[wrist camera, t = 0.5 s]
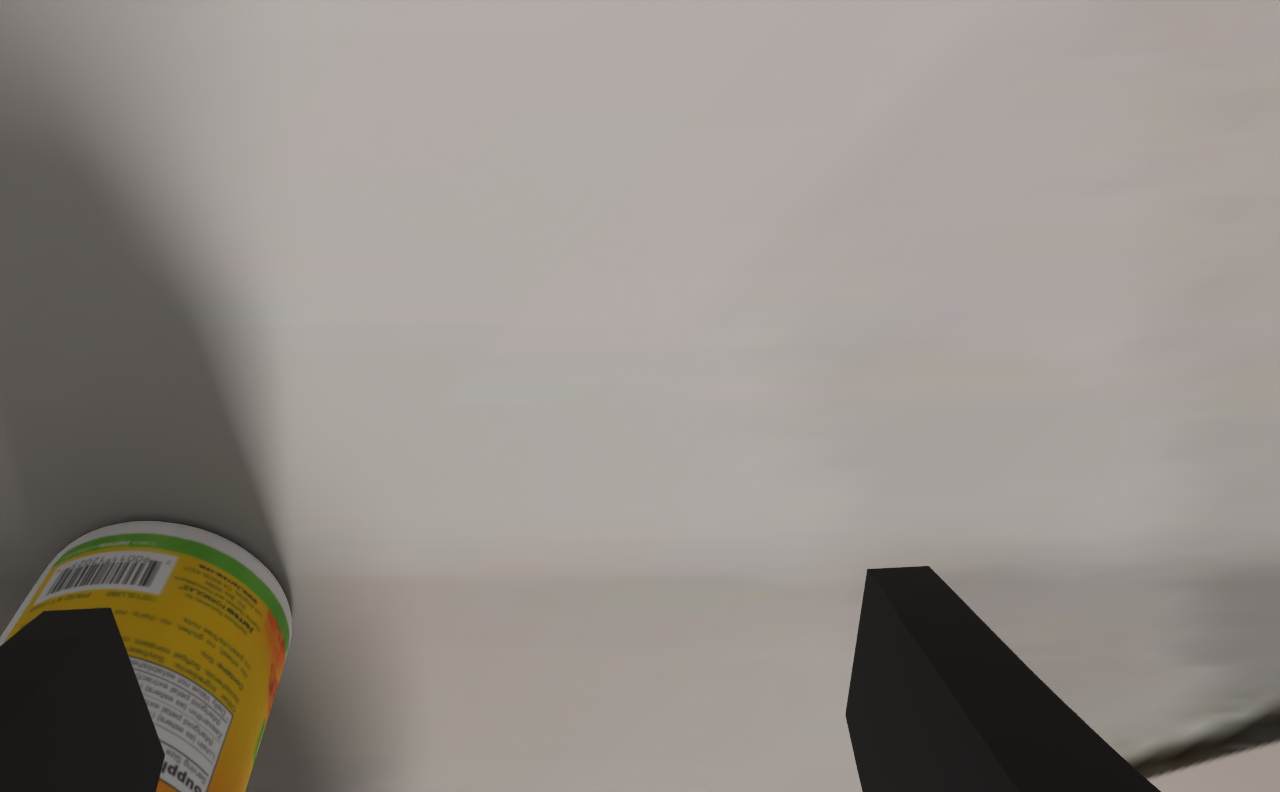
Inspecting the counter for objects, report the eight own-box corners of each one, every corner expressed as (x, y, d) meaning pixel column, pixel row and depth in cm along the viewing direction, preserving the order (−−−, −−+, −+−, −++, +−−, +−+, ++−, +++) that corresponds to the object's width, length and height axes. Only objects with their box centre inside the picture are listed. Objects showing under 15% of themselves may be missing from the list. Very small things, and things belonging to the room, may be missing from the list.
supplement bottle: (207, 723, 24) (27, 1201, 16) (-3, 613, 22) (-338, 1101, 14) (345, 601, 23) (224, 1063, 14) (133, 468, 21) (-155, 924, 12)
